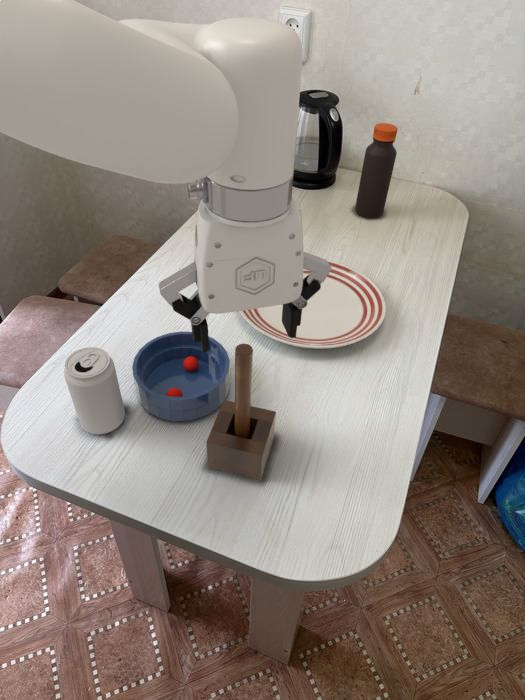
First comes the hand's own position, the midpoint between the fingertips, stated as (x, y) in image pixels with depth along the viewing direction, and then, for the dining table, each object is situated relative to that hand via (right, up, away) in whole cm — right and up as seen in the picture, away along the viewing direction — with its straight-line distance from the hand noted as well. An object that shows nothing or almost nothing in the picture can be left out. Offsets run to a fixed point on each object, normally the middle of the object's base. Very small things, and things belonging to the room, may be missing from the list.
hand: (246, 336), depth 55 cm
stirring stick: (-1, -16, +15) cm, 22 cm away
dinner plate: (+10, +6, +39) cm, 40 cm away
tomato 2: (-10, -4, +25) cm, 27 cm away
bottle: (+27, +32, +67) cm, 79 cm away
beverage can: (-21, -12, +18) cm, 31 cm away
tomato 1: (-11, -9, +20) cm, 25 cm away
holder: (-1, -16, +15) cm, 22 cm away
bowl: (-11, -7, +23) cm, 26 cm away
